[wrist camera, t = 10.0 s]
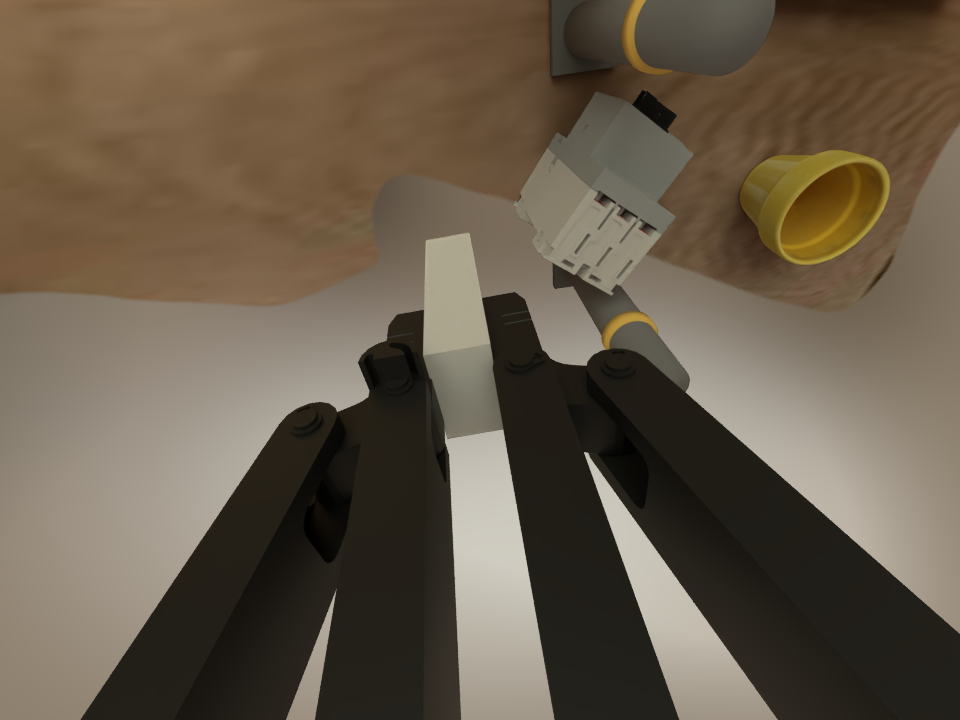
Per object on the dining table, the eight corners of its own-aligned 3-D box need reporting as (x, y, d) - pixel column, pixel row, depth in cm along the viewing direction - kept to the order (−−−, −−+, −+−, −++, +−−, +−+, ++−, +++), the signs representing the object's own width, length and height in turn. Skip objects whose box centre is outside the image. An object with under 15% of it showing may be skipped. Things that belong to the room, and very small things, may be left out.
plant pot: (786, 235, 53) (848, 269, 45) (708, 229, 52) (757, 263, 44) (835, 141, 47) (917, 162, 39) (748, 132, 46) (814, 151, 38)
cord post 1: (549, -8, 37) (675, -57, 18) (618, -18, 37) (818, -78, 18) (550, 75, 41) (657, 108, 22) (613, 66, 41) (775, 90, 22)
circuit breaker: (652, 114, 44) (736, 143, 32) (566, 236, 50) (609, 298, 38) (595, 69, 41) (664, 81, 29) (513, 204, 48) (541, 260, 36)
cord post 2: (552, 238, 50) (627, 361, 31) (603, 231, 50) (710, 349, 31) (553, 285, 54) (621, 421, 35) (600, 278, 54) (695, 410, 35)
